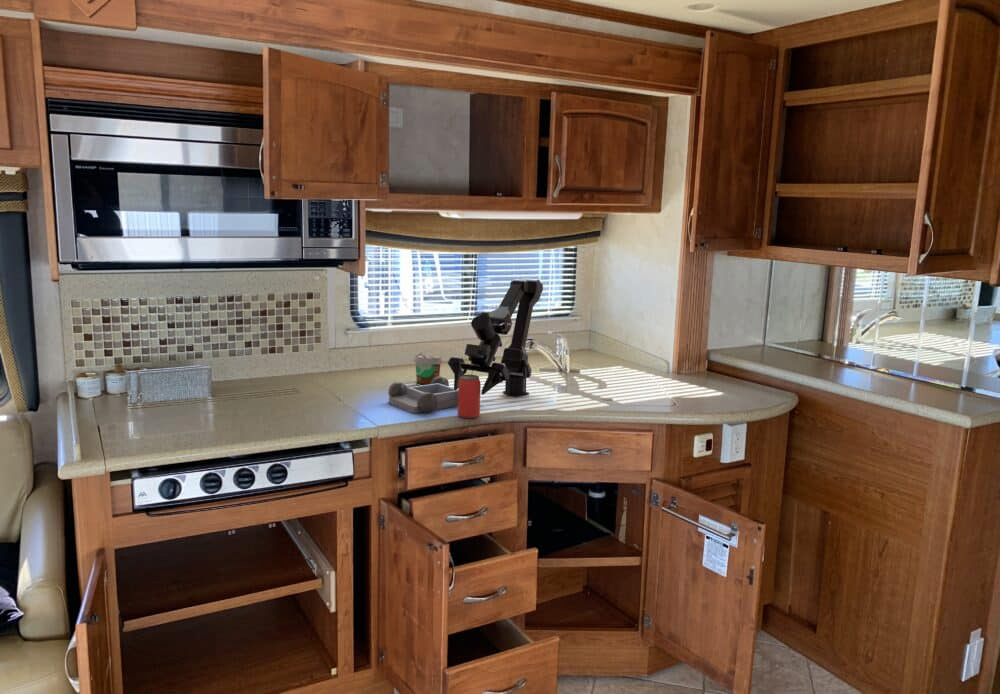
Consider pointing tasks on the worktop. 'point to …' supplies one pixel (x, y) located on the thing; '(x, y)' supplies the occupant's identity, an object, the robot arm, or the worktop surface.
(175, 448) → the worktop surface
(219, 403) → the worktop surface
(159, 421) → the worktop surface
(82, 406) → the worktop surface
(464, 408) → the beer can
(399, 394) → the chassis
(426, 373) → the food container
